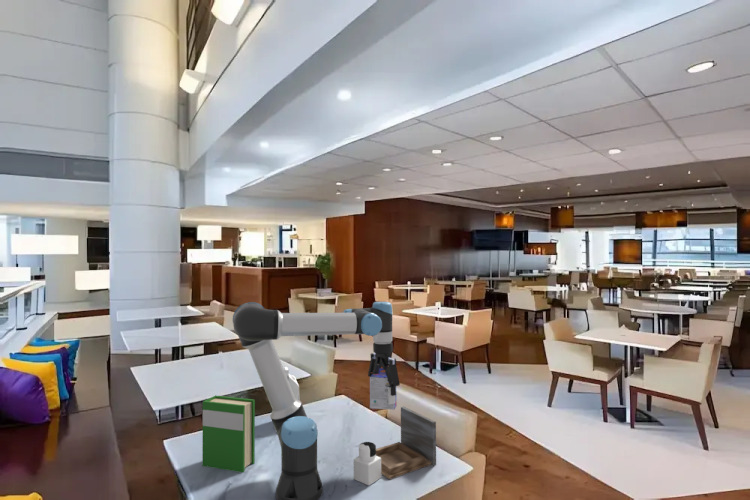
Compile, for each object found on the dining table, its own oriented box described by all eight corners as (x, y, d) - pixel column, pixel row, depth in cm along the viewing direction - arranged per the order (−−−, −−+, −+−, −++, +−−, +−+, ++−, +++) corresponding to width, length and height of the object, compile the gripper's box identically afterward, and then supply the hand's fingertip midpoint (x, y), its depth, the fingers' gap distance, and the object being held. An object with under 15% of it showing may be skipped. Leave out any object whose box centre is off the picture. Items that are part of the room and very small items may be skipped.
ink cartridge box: (397, 405, 166) (396, 368, 166) (395, 410, 161) (394, 371, 161) (372, 404, 168) (372, 367, 168) (369, 408, 163) (369, 370, 163)
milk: (273, 420, 204) (273, 366, 204) (297, 418, 207) (297, 364, 208) (274, 430, 192) (274, 372, 193) (300, 427, 196) (300, 370, 196)
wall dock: (391, 480, 148) (390, 434, 149) (361, 458, 165) (361, 416, 165) (436, 464, 160) (435, 421, 160) (403, 445, 176) (403, 406, 177)
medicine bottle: (366, 471, 155) (366, 438, 155) (381, 477, 151) (381, 443, 151) (353, 479, 150) (353, 444, 150) (368, 486, 145) (368, 450, 145)
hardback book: (254, 463, 162) (254, 399, 162) (243, 472, 155) (243, 406, 155) (215, 457, 167) (215, 395, 167) (202, 465, 160) (202, 401, 160)
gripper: (409, 345, 158) (409, 406, 157) (374, 336, 176) (374, 390, 176) (392, 348, 153) (393, 410, 153) (358, 338, 172) (359, 394, 172)
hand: (383, 399), depth 164 cm, fingers closed on ink cartridge box, 10 cm apart
